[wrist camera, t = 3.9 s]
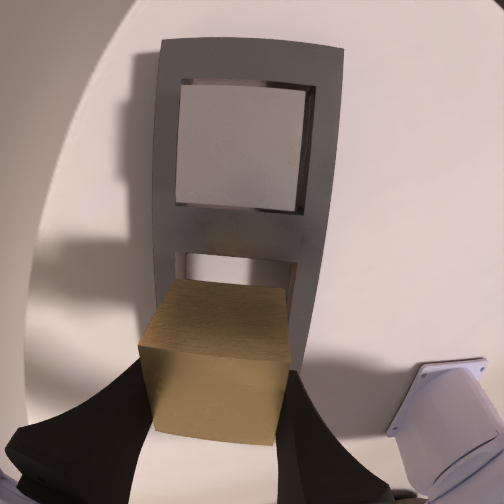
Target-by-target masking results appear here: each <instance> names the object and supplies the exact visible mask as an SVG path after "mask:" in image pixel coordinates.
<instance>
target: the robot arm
mask: <svg viewBox="0 0 504 504" xmlns="http://www.w3.org/2000/svg"><path fill="white" fill-rule="evenodd" d="M487 365H488V360H487V359H477V360H468V361H458V362H446V363H433V364H424V365H423V366H421V368H420V369H419V371H418V374H417V376H416V378H415V380H414V382H413V384H412V386H411V388H410V390H409V392H408V394H407V396H406V398H405V400H404V402H403V403H402V405H401V407H400V409H399V411H398V413H397V414H396V416H395V418H394V420H393V422H392V423H391V425H390V427H389V428H388V430H387V432H386V436H387V437H395V438H396V442H397V445H398V448H399V451H400V454H401V457H402V461H403V464H404V467H405V471H406V474H407V478H408V480H409V482H410V484H411V486H412V487H413V488H414V489H415V490H416V491H417V492H419V493H420V494H422V495H425V496H428V499H429V500H427V501H426V503H425V504H504V422H503V420H502V418H501V417H500V415H499V413H498V412H497V410H496V408H495V407H494V405H493V404H492V402H491V400H490V399H489V397H488V396H487V394H486V392H485V391H484V389H483V388H482V386H481V385H480V383H479V382H478V381H479V380H480V378H481V376H482V374H483V372H484V371H485V369H486V367H487ZM152 422H153V417H152V413H151V409H150V405H149V400H148V396H147V391H146V387H145V382H144V377H143V372H142V367H141V361H140V358H139V359H138V360H137V361H135V362H134V363H133V364H132V365H131V366H130V367H129V368H128V369H127V370H126V371H124V372H123V373H122V374H121V375H120V376H119V377H118V378H116V379H115V380H114V381H113V382H112V383H110V384H109V385H108V386H106V387H105V388H104V389H103V390H101V391H100V392H99V393H97V394H96V395H94V396H93V397H91V398H90V399H88V400H87V401H85V402H84V403H82V404H80V405H79V406H77V407H75V408H73V409H71V410H69V411H67V412H65V413H63V414H60V415H58V416H56V417H53V418H51V419H48V420H45V421H42V422H39V423H36V424H32V425H28V426H24V427H20V428H18V429H17V431H16V432H15V434H14V435H13V437H12V438H11V440H10V441H9V443H8V444H7V446H6V447H5V453H6V455H7V457H8V458H9V459H10V461H11V462H12V463H13V464H14V465H15V467H16V468H17V469H18V470H19V471H20V472H21V473H22V477H21V478H20V480H19V482H17V481H15V480H14V479H12V478H10V477H9V476H7V475H5V474H4V473H3V472H2V470H1V469H0V504H128V502H129V496H130V491H131V486H132V482H133V477H134V473H135V469H136V465H137V461H138V457H139V454H140V451H141V448H142V446H143V443H144V441H145V438H146V436H147V434H148V431H149V429H150V426H151V424H152ZM275 435H276V447H277V459H278V498H277V504H395V500H394V496H393V494H392V491H391V489H390V487H389V484H387V483H386V482H384V481H383V480H381V479H380V478H378V477H377V476H375V475H374V474H373V473H371V472H370V471H369V470H368V469H366V468H365V467H364V466H363V465H362V464H360V463H359V462H358V461H357V460H356V459H355V458H354V457H353V456H352V455H351V454H350V453H349V452H348V451H347V450H346V449H345V448H344V447H343V446H342V445H341V443H340V442H339V441H338V440H337V439H336V438H335V436H334V435H333V434H332V433H331V431H330V430H329V428H328V427H327V426H326V424H325V423H324V421H323V420H322V418H321V417H320V415H319V414H318V412H317V410H316V409H315V407H314V405H313V403H312V401H311V400H310V398H309V396H308V394H307V392H306V390H305V388H304V385H303V383H302V381H301V378H300V376H299V373H298V372H297V371H296V370H289V374H288V379H287V384H286V389H285V393H284V398H283V403H282V407H281V412H280V416H279V420H278V425H277V429H276V433H275Z"/></svg>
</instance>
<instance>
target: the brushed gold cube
mask: <svg viewBox="0 0 504 504" xmlns="http://www.w3.org/2000/svg"><path fill="white" fill-rule="evenodd" d="M138 350H139V356H140V361H141V367H142V372H143V377H144V382H145V387H146V391H147V396H148V400H149V405H150V409H151V413H152V417H153V422H154V426H155V429H156V431H158V432H163V433H168V434H174V435H179V436H185V437H191V438H198V439H205V440H212V441H220V442H229V443H240V444H252V445H267V446H273V442H274V438H275V433H276V429H277V425H278V420H279V416H280V412H281V407H282V403H283V398H284V393H285V389H286V384H287V379H288V374H289V369H290V364H291V358H290V345H289V332H288V319H287V307H286V296H285V288H273V287H261V286H250V285H238V284H228V283H217V282H207V281H197V280H187V279H178V278H175V280H174V282H173V283H172V285H171V287H170V289H169V290H168V292H167V294H166V295H165V297H164V299H163V301H162V302H161V304H160V306H159V308H158V309H157V311H156V313H155V315H154V316H153V318H152V320H151V322H150V323H149V325H148V327H147V329H146V331H145V332H144V334H143V336H142V338H141V340H140V341H139V343H138Z"/></svg>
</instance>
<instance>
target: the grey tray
mask: <svg viewBox="0 0 504 504" xmlns="http://www.w3.org/2000/svg"><path fill="white" fill-rule="evenodd" d="M343 60H344V49H342V48H337V47H331V46H325V45H318V44H311V43H303V42H295V41H285V40H274V39H260V38H236V37H203V38H179V39H165V40H162V42H161V50H160V59H159V69H158V79H157V90H156V103H155V119H154V138H153V171H152V221H153V254H154V274H155V290H156V304H157V309H158V308H159V306H160V304H161V302H162V301H163V299H164V297H165V295H166V294H167V292H168V290H169V289H170V287H171V285H172V283H173V282H174V280H175V278H178V279H186V253H196V254H207V255H218V256H230V257H241V258H252V259H264V260H275V261H287V262H292V269H291V276H290V284H289V291H288V298H287V305H286V307H287V319H288V332H289V345H290V358H291V364H290V369H289V370H296V371H297V372H298V373H299V374H300V370H301V365H302V361H303V356H304V352H305V347H306V342H307V337H308V333H309V328H310V323H311V318H312V312H313V307H314V302H315V296H316V291H317V285H318V280H319V274H320V268H321V262H322V256H323V250H324V243H325V237H326V230H327V223H328V216H329V209H330V201H331V194H332V186H333V178H334V169H335V160H336V151H337V141H338V131H339V119H340V107H341V94H342V79H343ZM181 85H231V86H252V87H266V88H278V89H289V90H298V91H306V92H307V93H310V99H309V111H308V123H307V135H306V145H305V156H304V166H303V176H302V185H301V195H300V204H299V206H298V205H295V210H294V211H287V210H276V209H265V208H253V207H240V206H227V205H214V204H199V203H183V202H176V170H177V145H178V127H179V111H180V97H181Z"/></svg>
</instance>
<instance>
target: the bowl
mask: <svg viewBox="0 0 504 504" xmlns="http://www.w3.org/2000/svg"><path fill="white" fill-rule="evenodd" d="M427 500H429V499H423V498H407V499H400V500H395V504H425V503H426V501H427Z"/></svg>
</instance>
